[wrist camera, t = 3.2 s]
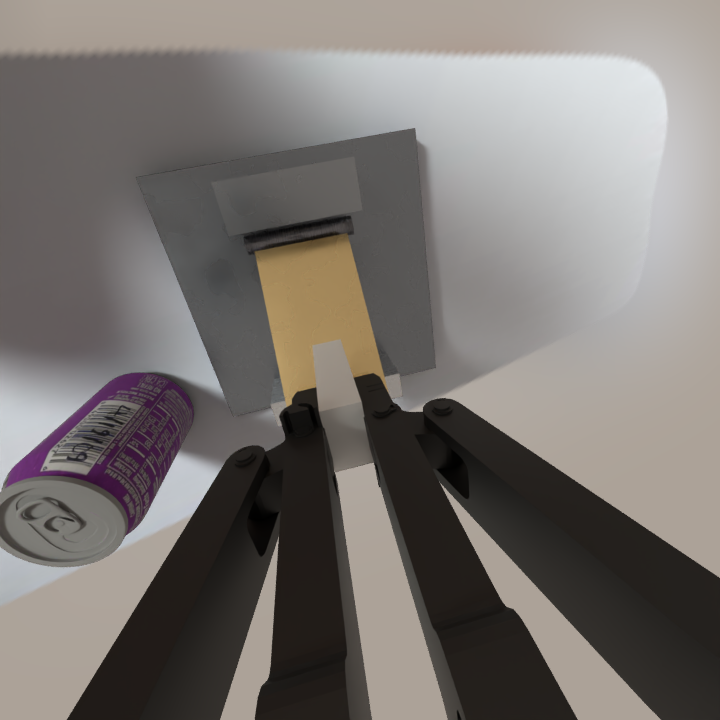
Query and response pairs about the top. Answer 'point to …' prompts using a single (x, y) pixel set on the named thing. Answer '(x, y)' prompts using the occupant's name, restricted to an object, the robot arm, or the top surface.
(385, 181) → the clamp base
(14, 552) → the beverage can
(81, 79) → the top surface
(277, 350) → the tan flat panel
